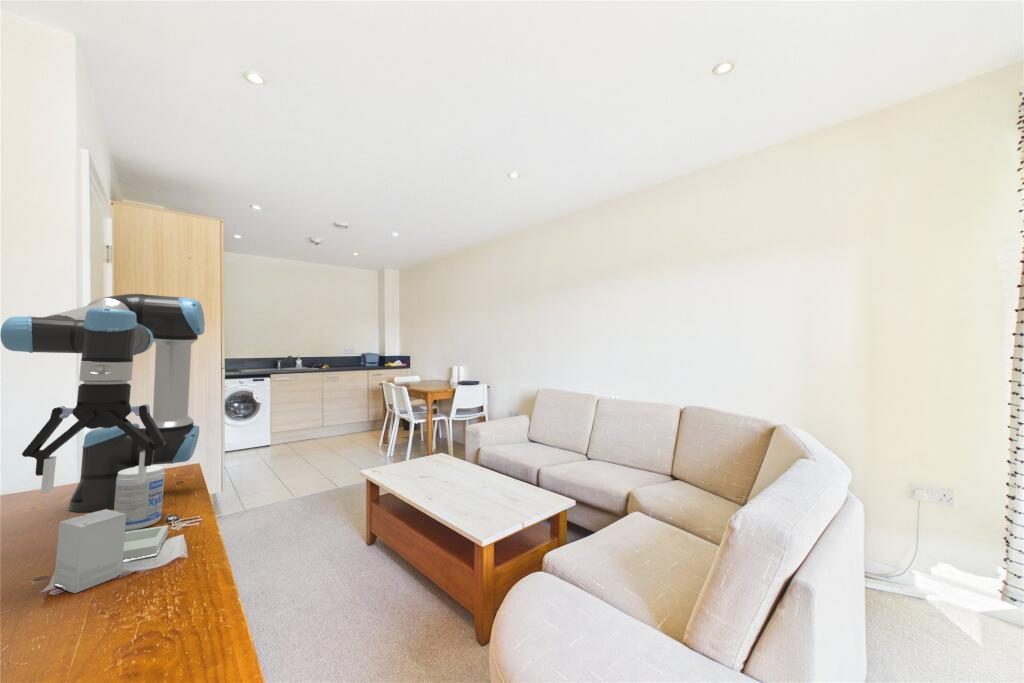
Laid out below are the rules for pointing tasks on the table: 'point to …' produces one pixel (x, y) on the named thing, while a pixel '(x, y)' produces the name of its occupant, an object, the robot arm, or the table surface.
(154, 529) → the holder tray
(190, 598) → the table surface
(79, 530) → the supplement box
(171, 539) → the table surface
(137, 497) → the supplement tub
